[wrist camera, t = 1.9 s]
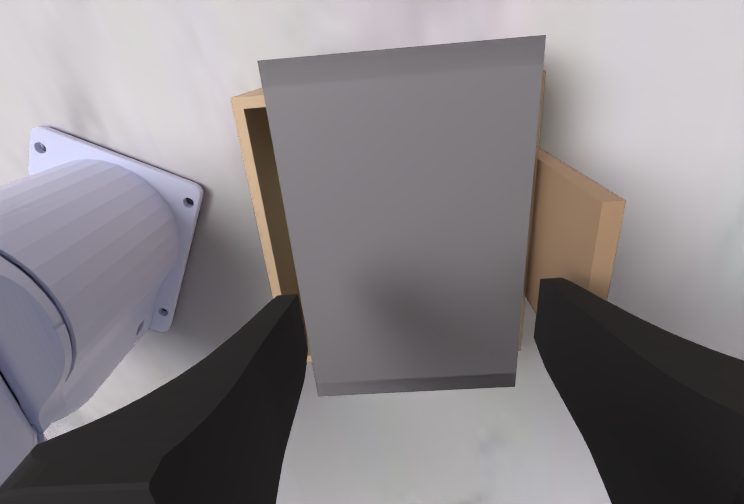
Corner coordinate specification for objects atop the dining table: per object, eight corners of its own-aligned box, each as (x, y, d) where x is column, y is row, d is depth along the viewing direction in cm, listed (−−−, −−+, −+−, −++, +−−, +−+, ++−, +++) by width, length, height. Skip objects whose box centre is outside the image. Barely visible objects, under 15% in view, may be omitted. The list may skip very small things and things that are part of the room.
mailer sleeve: (330, 325, 24) (318, 396, 19) (290, 58, 18) (257, 60, 13) (486, 315, 24) (514, 386, 19) (498, 39, 18) (545, 35, 13)
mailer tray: (301, 312, 24) (260, 454, 15) (260, 88, 19) (164, 118, 10) (507, 300, 23) (579, 440, 15) (524, 65, 18) (649, 77, 10)
